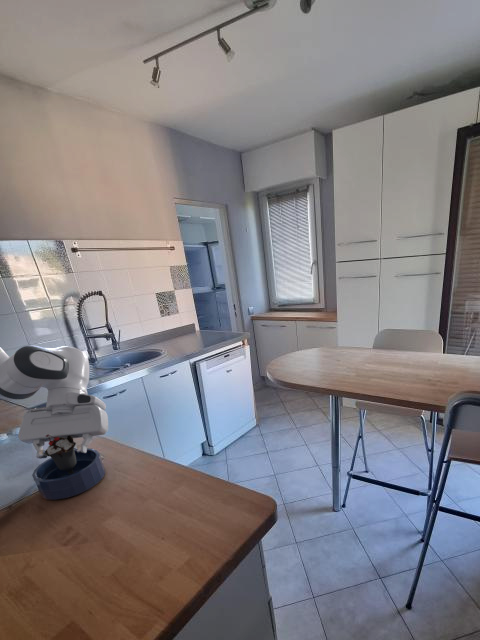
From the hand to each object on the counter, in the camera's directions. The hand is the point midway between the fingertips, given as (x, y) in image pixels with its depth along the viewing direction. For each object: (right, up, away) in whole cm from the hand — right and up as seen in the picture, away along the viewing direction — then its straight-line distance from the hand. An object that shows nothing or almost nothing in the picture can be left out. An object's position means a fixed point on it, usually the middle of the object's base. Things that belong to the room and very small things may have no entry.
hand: (61, 455), depth 84 cm
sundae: (0, -7, +4) cm, 9 cm away
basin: (0, -8, +4) cm, 9 cm away
